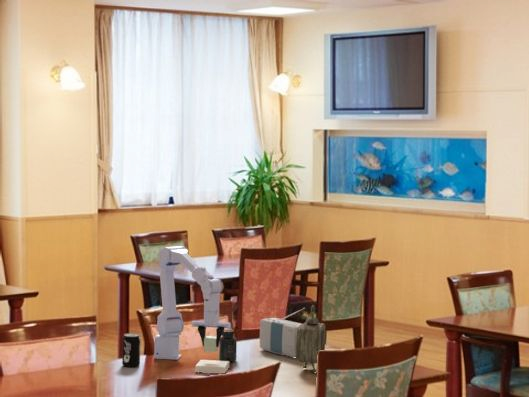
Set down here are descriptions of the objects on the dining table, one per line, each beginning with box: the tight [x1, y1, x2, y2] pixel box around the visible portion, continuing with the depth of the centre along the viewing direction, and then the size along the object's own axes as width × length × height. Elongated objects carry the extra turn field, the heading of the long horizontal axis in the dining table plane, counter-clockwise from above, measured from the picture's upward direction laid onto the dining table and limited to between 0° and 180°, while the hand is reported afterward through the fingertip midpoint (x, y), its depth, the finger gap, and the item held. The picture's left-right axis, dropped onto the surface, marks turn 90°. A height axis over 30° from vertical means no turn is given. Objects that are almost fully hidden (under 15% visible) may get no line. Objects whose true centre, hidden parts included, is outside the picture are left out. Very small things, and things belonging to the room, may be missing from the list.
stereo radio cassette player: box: [259, 307, 306, 358], centre depth 433 cm, size 21×8×20 cm, turn 42°
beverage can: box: [121, 332, 141, 368], centre depth 403 cm, size 7×7×12 cm
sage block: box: [203, 335, 219, 353], centre depth 402 cm, size 4×4×5 cm
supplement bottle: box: [218, 329, 238, 363], centre depth 417 cm, size 7×7×12 cm
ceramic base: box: [194, 359, 230, 374], centre depth 401 cm, size 11×11×3 cm
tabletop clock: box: [295, 304, 326, 373], centre depth 405 cm, size 14×9×25 cm, turn 168°
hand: (210, 346), depth 402 cm, fingers closed on sage block, 4 cm apart
